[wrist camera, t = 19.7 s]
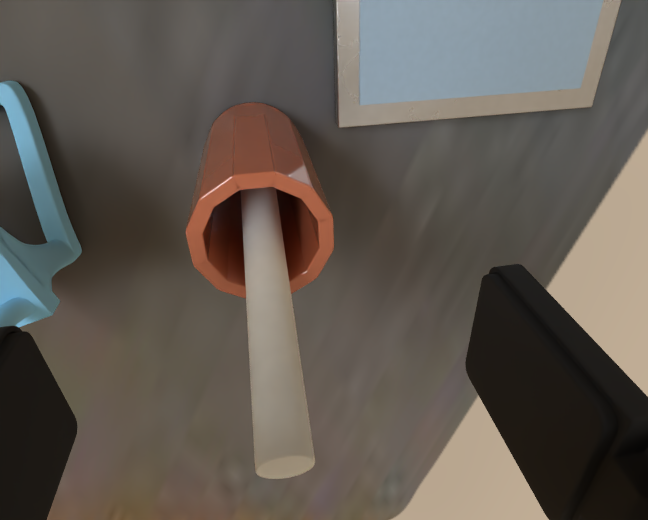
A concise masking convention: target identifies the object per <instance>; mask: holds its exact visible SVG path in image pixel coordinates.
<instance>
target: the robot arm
mask: <svg viewBox="0 0 648 520" xmlns="http://www.w3.org/2000/svg"><path fill="white" fill-rule="evenodd" d="M466 371H467V374H468V377H469V379H470V380H471V382H472V384H473V386H474V388H475V389H476V391H477V393H478V395H479V397H480V398H481V400H482V402H483V404H484V405H485V407H486V409H487V411H488V413H489V414H490V416H491V418H492V420H493V422H494V423H495V425H496V427H497V429H498V430H499V432H500V434H501V436H502V438H503V439H504V441H505V443H506V445H507V447H508V448H509V450H510V452H511V454H512V455H513V457H514V459H515V461H516V463H517V464H518V466H519V468H520V470H521V472H522V473H523V475H524V477H525V479H526V481H527V482H528V484H529V486H530V488H531V490H532V491H533V493H534V495H535V497H536V499H537V500H538V502H539V504H540V506H541V507H542V509H543V511H544V513H545V514H546V516H547V517H548V519H549V520H648V397H647V396H646V395H645V394H644V393H643V392H642V390H640V388H639V387H638V386H637V385H636V384H635V383H634V382H633V381H632V380H631V379H630V378H629V377H628V376H627V375H626V374H625V373H624V372H623V370H622V369H621V368H619V366H618V365H617V364H616V363H615V362H614V361H613V360H612V359H611V358H610V357H609V356H608V355H607V354H606V353H605V352H604V351H603V350H602V348H601V347H600V346H599V345H598V344H597V343H596V342H595V341H594V340H593V339H592V338H591V337H590V336H589V335H588V334H587V333H586V332H585V331H584V330H583V328H582V327H581V326H580V325H579V324H578V323H577V322H576V321H575V320H574V319H573V318H572V317H571V316H570V315H569V314H568V313H567V312H566V311H565V310H564V308H562V307H561V305H560V304H559V303H558V302H557V301H556V300H555V299H554V298H553V297H552V296H551V295H550V294H549V293H548V292H547V291H546V290H545V289H544V287H543V286H542V285H541V284H540V283H539V282H538V281H537V280H536V279H535V278H534V277H533V276H532V275H531V274H530V273H529V272H528V271H527V270H526V269H525V268H524V267H523V266H522V265H519V264H515V265H506V266H498V267H493V268H492V269H491V270H490V272H489V274H487V275H484V277H483V278H482V282H481V287H480V292H479V297H478V302H477V307H476V312H475V317H474V322H473V327H472V332H471V337H470V342H469V347H468V352H467V357H466ZM76 434H77V421H76V418H75V416H74V414H73V412H72V410H71V408H70V407H69V405H68V403H67V401H66V399H65V397H64V395H63V393H62V392H61V390H60V388H59V386H58V384H57V382H56V380H55V379H54V377H53V375H52V373H51V371H50V369H49V367H48V365H47V364H46V362H45V360H44V358H43V356H42V354H41V352H40V351H39V349H38V347H37V345H36V343H35V341H34V339H33V337H32V336H31V335H30V333H28V332H22V331H21V329H20V328H18V327H17V326H5V327H0V520H47V517H48V514H49V511H50V508H51V505H52V503H53V500H54V497H55V494H56V491H57V488H58V486H59V483H60V480H61V477H62V474H63V472H64V469H65V466H66V463H67V460H68V457H69V455H70V452H71V449H72V446H73V443H74V440H75V438H76Z"/></svg>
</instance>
